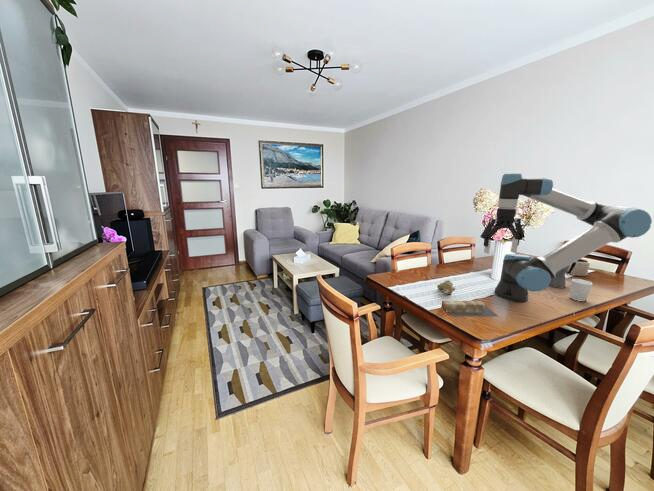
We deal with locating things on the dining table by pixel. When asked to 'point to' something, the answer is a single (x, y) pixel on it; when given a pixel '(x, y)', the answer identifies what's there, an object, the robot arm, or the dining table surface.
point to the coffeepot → (561, 276)
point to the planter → (580, 267)
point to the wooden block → (463, 306)
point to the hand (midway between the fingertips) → (499, 252)
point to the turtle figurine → (446, 287)
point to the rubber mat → (475, 313)
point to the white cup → (580, 289)
